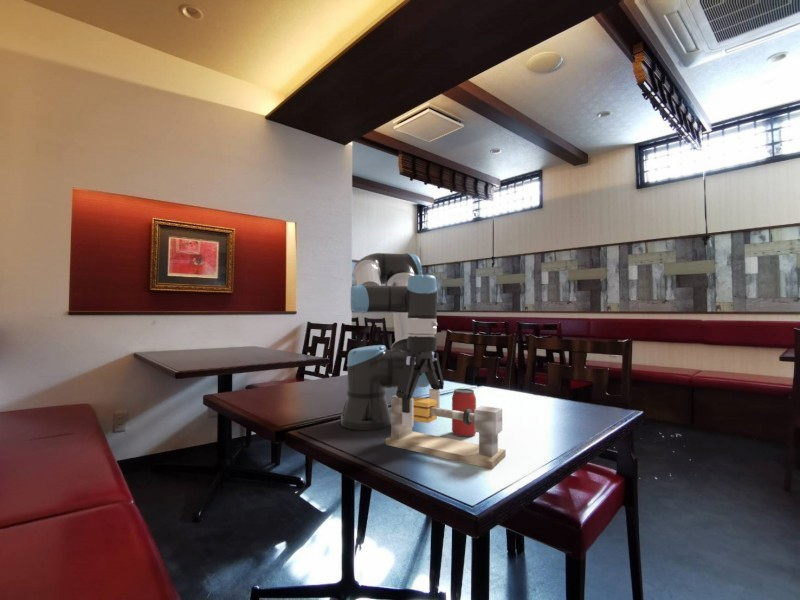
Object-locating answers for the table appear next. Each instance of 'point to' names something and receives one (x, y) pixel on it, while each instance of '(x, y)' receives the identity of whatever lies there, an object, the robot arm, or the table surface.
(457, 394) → the beer can
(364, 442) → the table surface
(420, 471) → the table surface
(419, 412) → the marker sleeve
